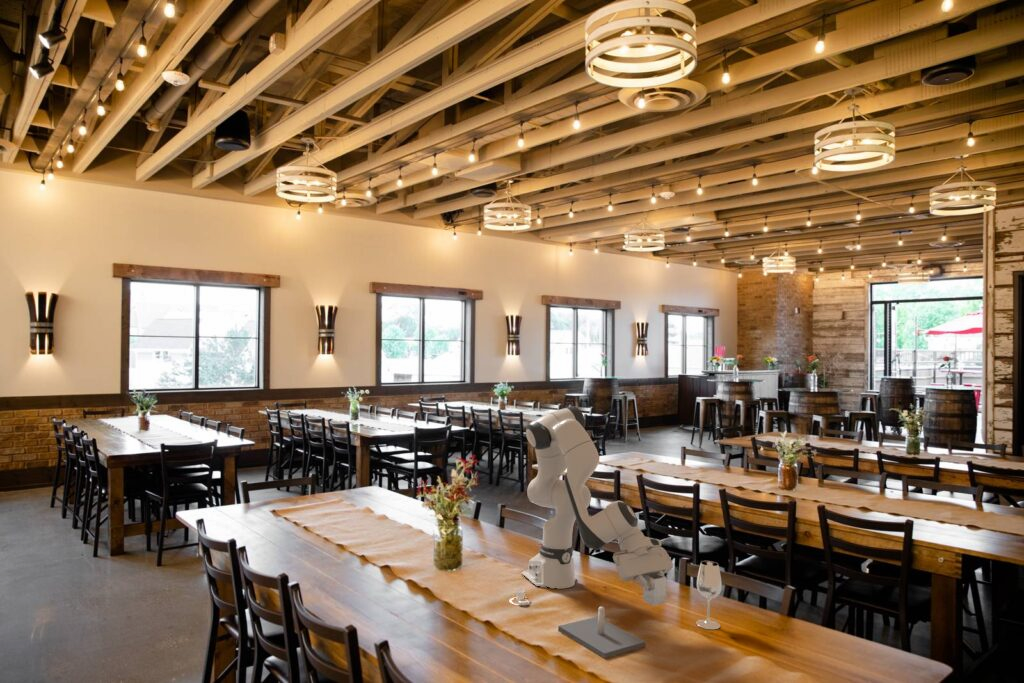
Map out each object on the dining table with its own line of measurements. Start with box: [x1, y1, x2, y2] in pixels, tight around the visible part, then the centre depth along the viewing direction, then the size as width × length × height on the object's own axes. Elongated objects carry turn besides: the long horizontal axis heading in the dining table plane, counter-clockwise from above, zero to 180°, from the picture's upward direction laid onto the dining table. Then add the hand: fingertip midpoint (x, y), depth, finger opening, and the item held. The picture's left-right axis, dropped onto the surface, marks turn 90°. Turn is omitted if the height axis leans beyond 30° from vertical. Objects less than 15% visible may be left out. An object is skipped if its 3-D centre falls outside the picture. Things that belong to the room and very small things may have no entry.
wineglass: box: [695, 560, 723, 630], centre depth 219 cm, size 8×8×20 cm
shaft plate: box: [557, 606, 646, 659], centre depth 205 cm, size 22×16×10 cm
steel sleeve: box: [642, 573, 668, 607], centre depth 210 cm, size 5×5×8 cm
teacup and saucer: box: [508, 588, 529, 606], centre depth 234 cm, size 9×8×4 cm
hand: (656, 588), depth 209 cm, fingers closed on steel sleeve, 5 cm apart
